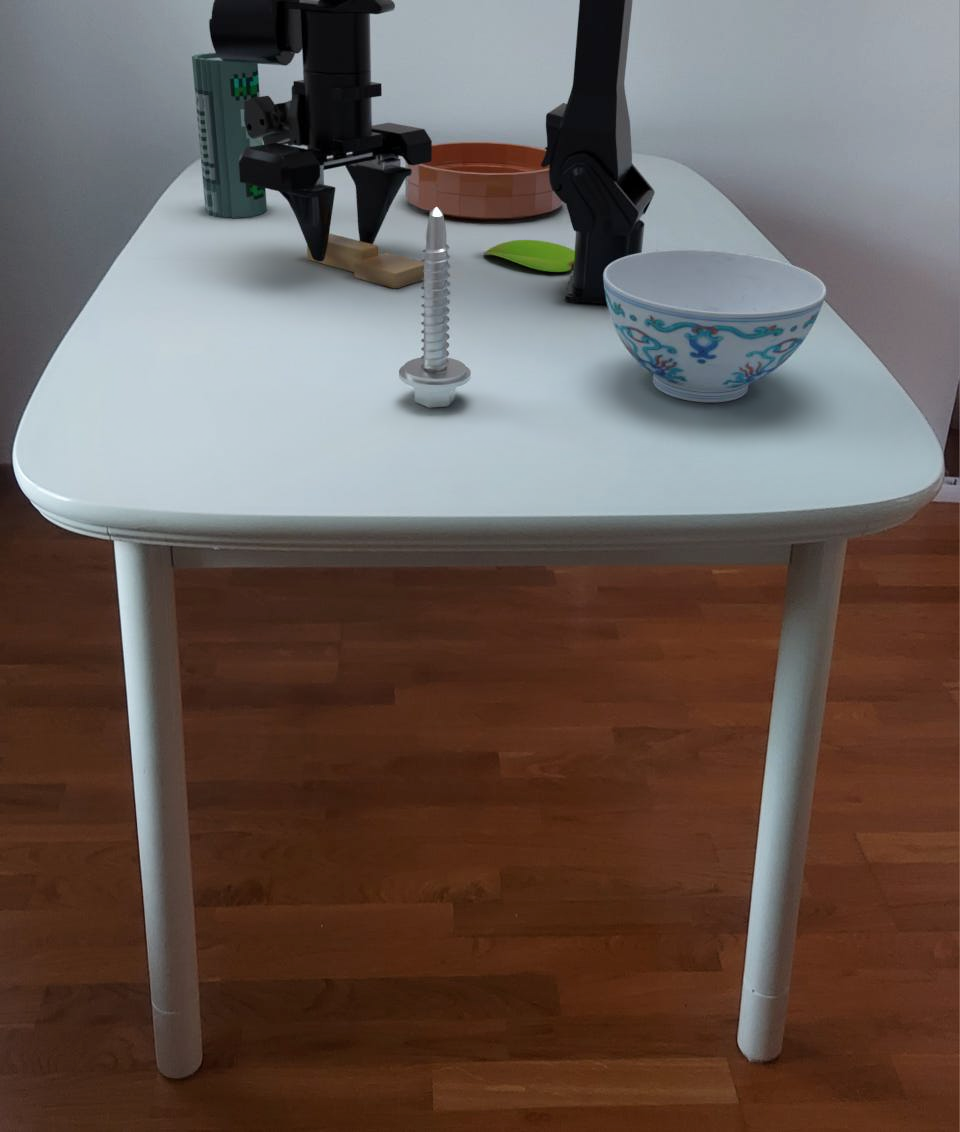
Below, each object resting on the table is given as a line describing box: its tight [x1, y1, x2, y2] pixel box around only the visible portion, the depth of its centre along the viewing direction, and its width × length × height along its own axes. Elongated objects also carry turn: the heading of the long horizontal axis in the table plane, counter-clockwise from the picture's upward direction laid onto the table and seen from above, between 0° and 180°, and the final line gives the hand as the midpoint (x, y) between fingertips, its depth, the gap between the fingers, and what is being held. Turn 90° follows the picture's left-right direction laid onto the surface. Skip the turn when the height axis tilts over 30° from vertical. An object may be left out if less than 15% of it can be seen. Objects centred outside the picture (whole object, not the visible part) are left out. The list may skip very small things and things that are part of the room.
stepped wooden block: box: [306, 232, 424, 290], centre depth 106 cm, size 12×4×2 cm, turn 51°
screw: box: [398, 207, 472, 409], centre depth 77 cm, size 13×5×5 cm
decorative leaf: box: [483, 239, 575, 273], centre depth 110 cm, size 8×9×1 cm
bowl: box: [404, 141, 564, 221], centre depth 128 cm, size 17×17×5 cm
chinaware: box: [603, 248, 827, 404], centre depth 82 cm, size 15×15×8 cm
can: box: [191, 52, 268, 219], centre depth 120 cm, size 6×6×15 cm
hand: (342, 253), depth 107 cm, fingers open, 6 cm apart
